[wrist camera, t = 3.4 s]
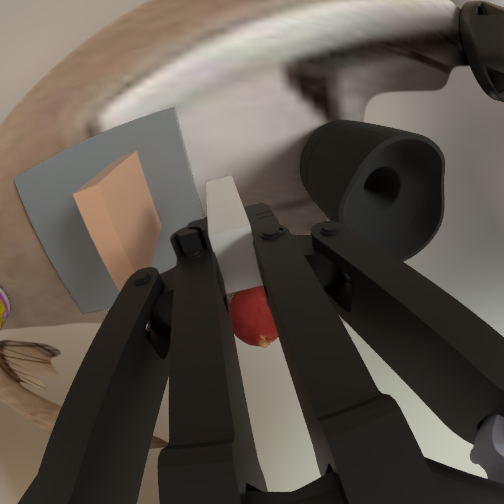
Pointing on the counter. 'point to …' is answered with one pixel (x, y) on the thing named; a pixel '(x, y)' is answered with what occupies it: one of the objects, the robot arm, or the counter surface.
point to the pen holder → (377, 183)
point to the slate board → (86, 167)
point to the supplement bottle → (3, 307)
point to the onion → (252, 317)
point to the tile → (120, 217)
